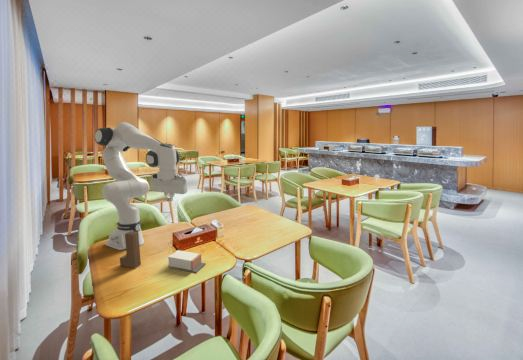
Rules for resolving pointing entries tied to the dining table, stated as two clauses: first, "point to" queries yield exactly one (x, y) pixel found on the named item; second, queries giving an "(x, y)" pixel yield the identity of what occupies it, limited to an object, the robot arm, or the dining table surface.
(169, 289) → the dining table surface
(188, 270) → the mat
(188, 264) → the cream block
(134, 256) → the wooden block
